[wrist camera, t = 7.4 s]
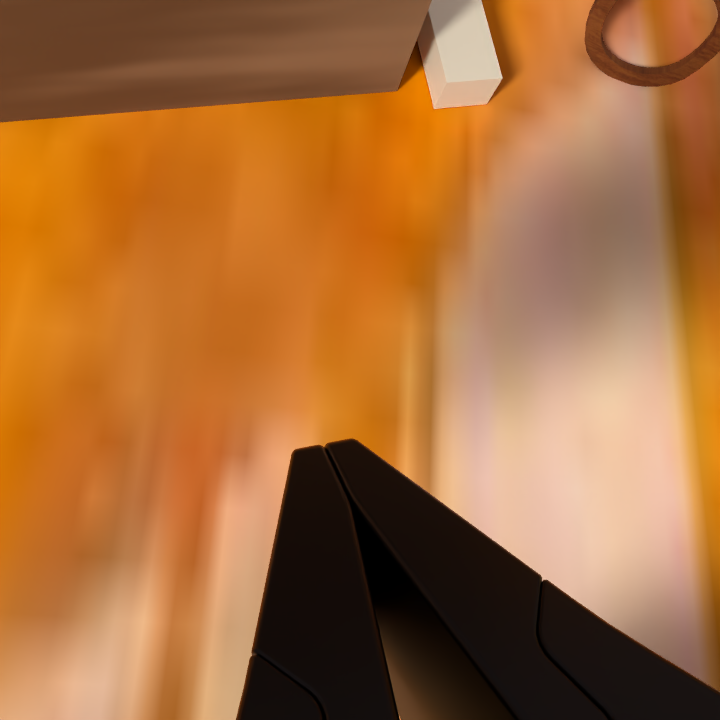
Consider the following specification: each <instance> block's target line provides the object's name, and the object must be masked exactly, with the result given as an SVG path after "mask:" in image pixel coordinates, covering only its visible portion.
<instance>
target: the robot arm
mask: <svg viewBox="0 0 720 720" xmlns="http://www.w3.org/2000/svg"><path fill="white" fill-rule="evenodd" d="M398 713H399V714H398ZM399 715H400V718H401V720H720V692H719V691H718V690H716V689H714V688H713V687H711V686H709V685H708V684H706V683H704V682H703V681H701V680H699V679H698V678H696V677H694V676H693V675H691V674H690V673H688V672H686V671H685V670H683V669H681V668H680V667H678V666H676V665H675V664H673V663H671V662H670V661H668V660H666V659H665V658H663V657H661V656H660V655H658V654H656V653H655V652H653V651H651V650H650V649H648V648H647V647H645V646H643V645H642V644H640V643H639V642H637V641H635V640H634V639H632V638H631V637H629V636H628V635H626V634H624V633H623V632H621V631H620V630H618V629H616V628H615V627H613V626H612V625H610V624H609V623H607V622H606V621H604V620H603V619H601V618H600V617H599V616H597V615H596V614H594V613H593V612H591V611H590V610H589V609H587V608H586V607H584V606H583V605H581V604H580V603H578V602H577V601H576V600H574V599H573V598H571V597H570V596H569V595H567V594H566V593H564V592H563V591H562V590H560V589H559V588H558V587H556V586H555V585H554V584H552V583H551V582H550V581H548V580H543V581H542V577H541V575H540V574H538V573H537V572H536V571H534V570H533V569H531V568H530V567H529V566H527V565H526V564H525V563H523V562H522V561H521V560H519V559H518V558H516V557H515V556H514V555H512V554H511V553H510V552H508V551H507V550H506V549H504V548H503V547H502V546H500V545H499V544H497V543H496V542H495V541H493V540H492V539H491V538H489V537H488V536H487V535H485V534H484V533H482V532H481V531H480V530H478V529H477V528H476V527H474V526H473V525H472V524H470V523H469V522H468V521H466V520H465V519H463V518H462V517H461V516H459V515H458V514H457V513H455V512H454V511H453V510H451V509H450V508H448V507H447V506H446V505H444V504H443V503H442V502H440V501H439V500H438V499H436V498H435V497H434V496H432V495H431V494H429V493H428V492H427V491H425V490H424V489H423V488H421V487H420V486H419V485H417V484H416V483H414V482H413V481H412V480H410V479H409V478H408V477H406V476H405V475H404V474H402V473H401V472H400V471H398V470H397V469H395V468H394V467H393V466H391V465H390V464H389V463H387V462H386V461H385V460H383V459H382V458H380V457H379V456H378V455H376V454H375V453H374V452H372V451H371V450H370V449H368V448H367V447H366V446H364V445H363V444H361V443H360V442H359V441H357V440H355V439H345V440H340V441H335V442H330V443H327V444H326V445H325V447H323V446H321V445H315V446H309V447H304V448H299V449H295V450H294V451H293V453H292V455H291V460H290V465H289V470H288V475H287V480H286V485H285V490H284V494H283V499H282V504H281V509H280V514H279V519H278V524H277V529H276V534H275V539H274V544H273V549H272V554H271V559H270V563H269V568H268V573H267V578H266V583H265V588H264V593H263V598H262V603H261V608H260V613H259V618H258V623H257V628H256V632H255V637H254V642H253V647H252V656H251V657H250V660H249V665H248V670H247V675H246V679H245V684H244V689H243V693H242V697H241V701H240V705H239V709H238V714H237V718H236V720H400V719H399Z"/></svg>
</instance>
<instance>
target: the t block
mask: <svg viewBox="0 0 720 720" xmlns="http://www.w3.org/2000/svg"><path fill="white" fill-rule="evenodd" d="M431 1H432V0H0V122H9V121H21V120H34V119H47V118H60V117H72V116H85V115H98V114H110V113H123V112H136V111H148V110H161V109H174V108H187V107H199V106H212V105H225V104H237V103H250V102H263V101H276V100H288V99H301V98H314V97H326V96H339V95H352V94H365V93H377V92H390V91H397V90H398V87H399V85H400V82H401V79H402V77H403V74H404V72H405V69H406V66H407V64H408V61H409V59H410V56H411V53H412V51H413V48H414V46H415V43H416V40H417V38H418V35H419V33H420V30H421V27H422V25H423V22H424V20H425V17H426V14H427V12H428V9H429V7H430V4H431Z"/></svg>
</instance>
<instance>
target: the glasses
mask: <svg viewBox="0 0 720 720" xmlns="http://www.w3.org/2000/svg"><path fill="white" fill-rule="evenodd" d="M616 1H617V0H595V2H594V4H593V6H592V8H591V10H590V12H589V16H588V19H587V23H586V31H585V45H586V50H587V53H588V55H589V57H590V59H591V60H592V62H593V63H594V64H595V65H596V66H597V67H598V68H599V69H600V70H601V71H603V72H604V73H605V74H607V75H608V76H610V77H612V78H615V79H617V80H620V81H622V82H625V83H628V84H631V85H638V86H662V85H668V84H672V83H675V82H677V81H680V80H682V79H685V78H686V77H688V76H689V75H691V74H692V73H694V72H695V71H697V70H698V69H700V68H701V67H702V66H703V65H704V64H706V63H707V62H708V61H709V60H710V59H712V58H713V57H714V56H715V55H716V54H717V53H718V52H719V51H720V0H714V2H715V4H716V7H717V10H718V20H717V22H716V25H715V27H714V29H713V31H712V32H711V33H710V35H709V36H708V38H707V39H706V40H705V41H704V42H703V43H702V44H701V45H700V46H699V47H698V48H697V49H696V50H694V51H693V52H692V53H691V54H690V55H688V56H687V57H685V58H684V59H682V60H680V61H679V62H676V63H674V64H671V65H669V66H663V67H658V68H646V67H639V66H635V65H632V64H628V63H626V62H624V61H622V60H620V59H619V58H617V57H616V56H615V55H613V54H612V53H611V52H610V51H609V50H608V48H607V47H606V45H605V43H604V41H603V37H602V26H603V23H604V20H605V18H606V16H607V14H608V12H609V11H610V9H611V8H612V7H613V5H614V4H615V3H616Z"/></svg>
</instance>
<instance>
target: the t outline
mask: <svg viewBox="0 0 720 720" xmlns="http://www.w3.org/2000/svg"><path fill="white" fill-rule="evenodd" d="M417 42H418V46H419V50H420V54H421V58H422V62H423V66H424V70H425V74H426V78H427V82H428V86H429V90H430V94H431V98H432V102H433V106H434V109H437V108H448V107H460V106H471V105H482V104H487V103H488V101H489V100H490V98H491V96H492V95H493V93H494V92H495V90H496V88H497V87H498V85H499V83H500V82H501V80H502V74H501V71H500V67H499V63H498V60H497V56H496V52H495V49H494V45H493V41H492V38H491V34H490V30H489V27H488V23H487V19H486V16H485V12H484V8H483V5H482V1H481V0H432V1H431V4H430V7H429V9H428V12H427V14H426V17H425V20H424V22H423V25H422V27H421V30H420V33H419V35H418V38H417Z"/></svg>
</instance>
